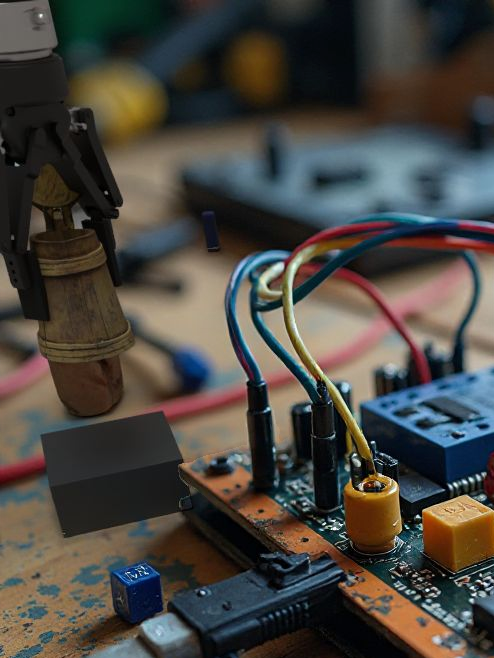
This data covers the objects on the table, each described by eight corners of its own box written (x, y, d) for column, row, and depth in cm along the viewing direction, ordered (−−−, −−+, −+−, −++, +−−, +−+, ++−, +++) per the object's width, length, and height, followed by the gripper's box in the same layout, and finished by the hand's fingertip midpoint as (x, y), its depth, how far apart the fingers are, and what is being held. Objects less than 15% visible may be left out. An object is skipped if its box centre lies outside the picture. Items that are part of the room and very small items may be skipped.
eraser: (208, 248, 194) (202, 211, 190) (221, 248, 194) (214, 210, 191) (206, 252, 192) (200, 214, 189) (219, 251, 192) (212, 213, 189)
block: (70, 388, 141) (31, 238, 131) (129, 382, 142) (95, 233, 132) (57, 423, 132) (14, 265, 122) (120, 417, 133) (83, 259, 123)
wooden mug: (129, 313, 114) (94, 137, 105) (138, 356, 103) (100, 163, 94) (39, 324, 111) (-4, 144, 102) (39, 369, 100) (-9, 172, 91)
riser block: (63, 538, 108) (49, 486, 105) (53, 482, 119) (40, 434, 116) (193, 508, 113) (183, 458, 110) (172, 457, 123) (162, 410, 120)
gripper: (-50, 75, 83) (25, 346, 95) (130, 38, 101) (175, 270, 112) (-122, 73, 86) (-41, 337, 97) (66, 37, 103) (116, 264, 115)
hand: (75, 301), depth 105 cm, fingers open, 9 cm apart
